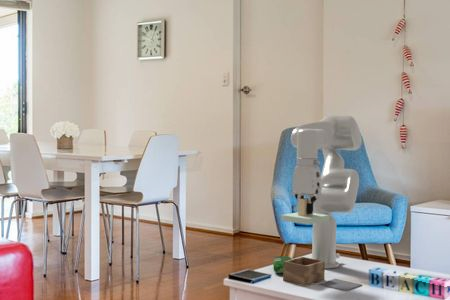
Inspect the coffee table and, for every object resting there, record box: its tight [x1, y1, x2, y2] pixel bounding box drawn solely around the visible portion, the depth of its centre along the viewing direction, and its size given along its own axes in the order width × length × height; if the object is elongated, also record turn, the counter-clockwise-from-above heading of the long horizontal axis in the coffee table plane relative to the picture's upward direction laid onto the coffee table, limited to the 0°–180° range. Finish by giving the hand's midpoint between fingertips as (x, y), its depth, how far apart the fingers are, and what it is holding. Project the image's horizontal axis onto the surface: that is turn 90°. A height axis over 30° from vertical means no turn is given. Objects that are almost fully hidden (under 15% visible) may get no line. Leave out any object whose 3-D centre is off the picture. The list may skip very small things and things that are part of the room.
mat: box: [318, 278, 363, 292], centre depth 204 cm, size 11×11×1 cm
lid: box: [280, 197, 330, 225], centre depth 209 cm, size 14×12×8 cm
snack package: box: [272, 255, 292, 274], centre depth 223 cm, size 7×16×5 cm, turn 173°
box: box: [282, 256, 326, 287], centre depth 210 cm, size 12×10×7 cm
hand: (305, 213), depth 209 cm, fingers closed on lid, 2 cm apart
